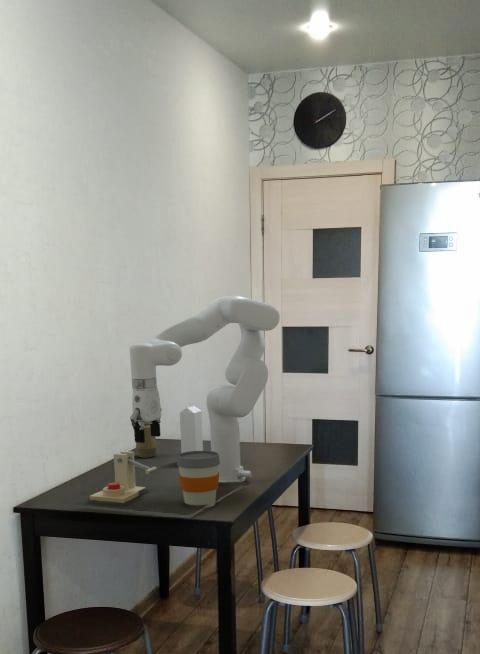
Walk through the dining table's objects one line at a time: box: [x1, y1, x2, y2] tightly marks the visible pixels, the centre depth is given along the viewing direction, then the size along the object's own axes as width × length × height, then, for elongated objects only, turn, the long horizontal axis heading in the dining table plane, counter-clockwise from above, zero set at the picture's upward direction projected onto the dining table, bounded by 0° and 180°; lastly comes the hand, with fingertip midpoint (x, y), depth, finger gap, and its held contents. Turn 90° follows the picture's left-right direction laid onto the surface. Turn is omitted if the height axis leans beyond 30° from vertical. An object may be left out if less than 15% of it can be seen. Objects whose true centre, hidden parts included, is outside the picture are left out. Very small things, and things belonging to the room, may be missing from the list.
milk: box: [179, 401, 204, 454], centre depth 309 cm, size 6×6×22 cm
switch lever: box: [122, 453, 158, 475], centre depth 265 cm, size 12×5×2 cm, turn 67°
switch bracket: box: [113, 450, 147, 492], centre depth 267 cm, size 10×8×13 cm
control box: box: [89, 486, 140, 504], centre depth 258 cm, size 12×9×4 cm
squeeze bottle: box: [135, 422, 158, 459], centre depth 322 cm, size 8×8×18 cm
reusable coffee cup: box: [176, 450, 220, 509], centre depth 250 cm, size 13×13×15 cm
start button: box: [107, 481, 120, 490], centre depth 258 cm, size 4×4×2 cm
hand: (147, 439), depth 261 cm, fingers open, 9 cm apart
